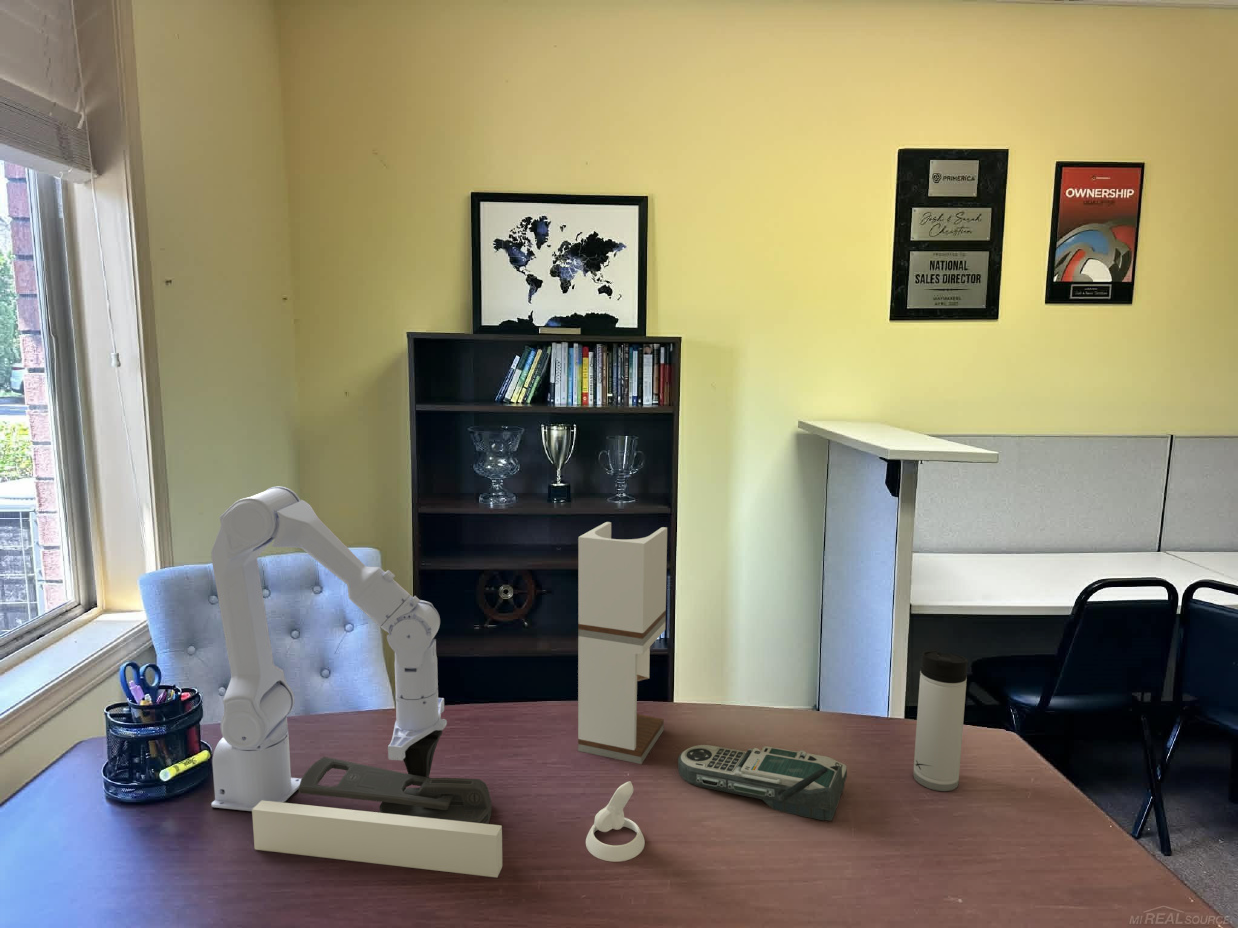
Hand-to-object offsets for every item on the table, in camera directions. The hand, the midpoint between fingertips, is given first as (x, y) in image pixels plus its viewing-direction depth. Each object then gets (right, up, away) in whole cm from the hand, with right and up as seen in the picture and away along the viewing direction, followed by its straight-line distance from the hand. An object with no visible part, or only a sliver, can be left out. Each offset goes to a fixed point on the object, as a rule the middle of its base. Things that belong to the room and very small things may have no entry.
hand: (419, 781), depth 107 cm
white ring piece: (+28, -4, -9) cm, 30 cm away
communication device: (+49, -3, +4) cm, 49 cm away
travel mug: (+76, -3, +6) cm, 76 cm away
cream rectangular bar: (-2, -4, -12) cm, 13 cm away
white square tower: (+29, -1, +17) cm, 33 cm away
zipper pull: (-2, -3, -4) cm, 6 cm away
